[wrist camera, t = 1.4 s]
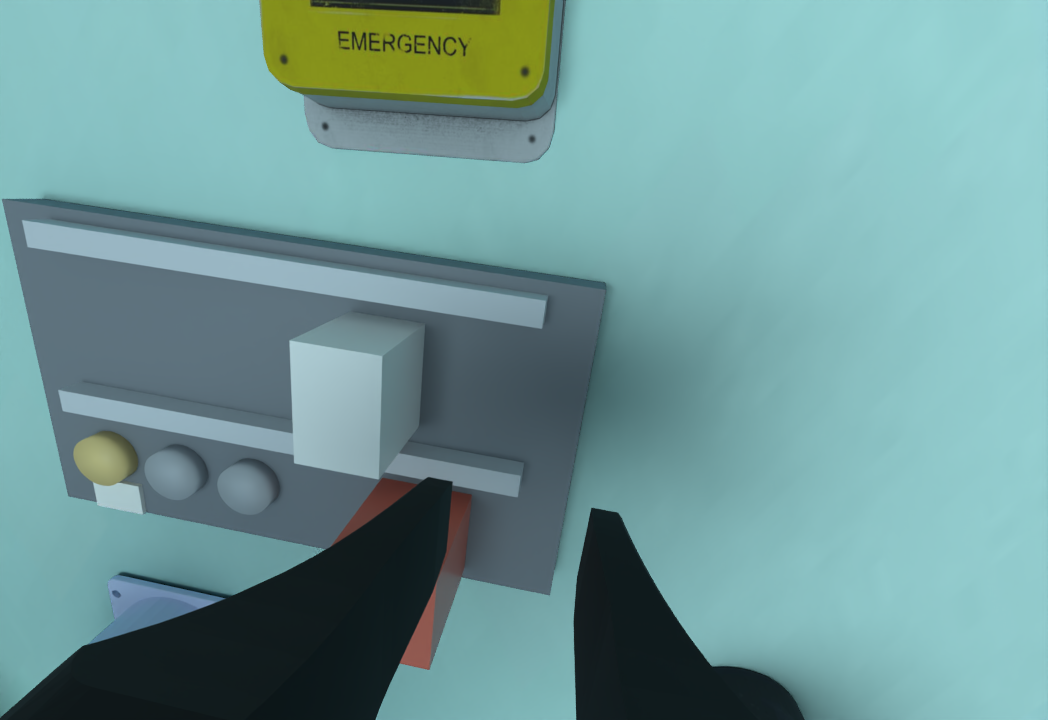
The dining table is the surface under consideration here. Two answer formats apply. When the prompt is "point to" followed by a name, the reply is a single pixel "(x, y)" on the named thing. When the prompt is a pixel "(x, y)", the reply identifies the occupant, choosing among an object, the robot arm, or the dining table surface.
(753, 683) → the travel mug
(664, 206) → the dining table surface
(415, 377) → the lever
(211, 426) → the panel
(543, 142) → the emergency button
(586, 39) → the dining table surface
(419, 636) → the block
